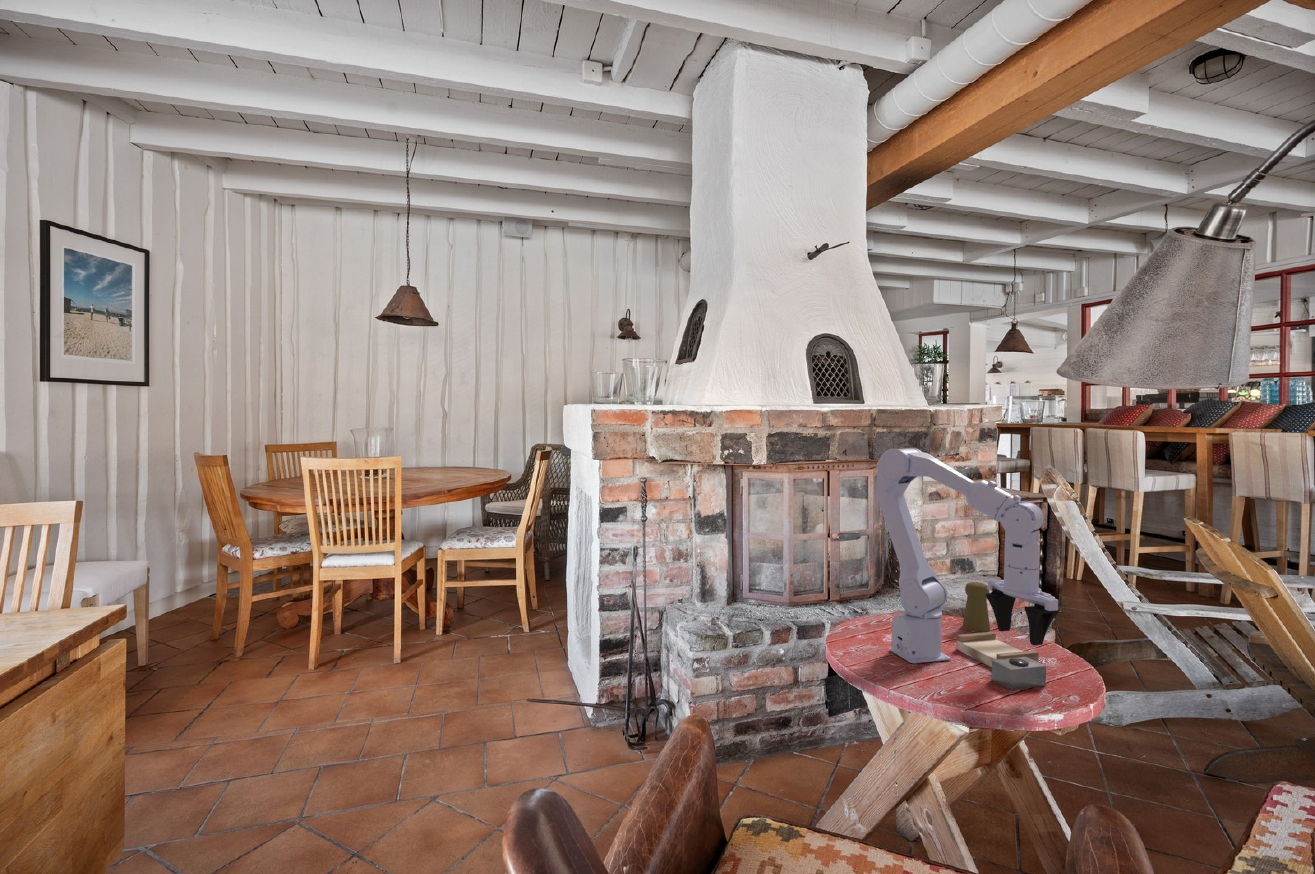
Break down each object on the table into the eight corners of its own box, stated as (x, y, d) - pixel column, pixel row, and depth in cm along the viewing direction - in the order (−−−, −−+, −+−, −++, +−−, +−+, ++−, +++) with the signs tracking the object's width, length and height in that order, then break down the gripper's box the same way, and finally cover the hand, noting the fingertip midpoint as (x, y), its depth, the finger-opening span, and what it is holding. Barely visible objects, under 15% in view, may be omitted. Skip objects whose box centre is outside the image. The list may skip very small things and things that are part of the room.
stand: (1038, 668, 125) (1038, 652, 125) (1000, 672, 123) (1001, 656, 123) (991, 646, 137) (991, 631, 137) (956, 649, 135) (956, 634, 135)
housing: (1010, 690, 115) (1011, 667, 114) (991, 680, 119) (992, 658, 119) (1045, 686, 117) (1046, 664, 116) (1025, 676, 121) (1026, 654, 121)
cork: (995, 632, 146) (996, 586, 145) (969, 632, 146) (970, 586, 145) (982, 624, 152) (983, 579, 151) (957, 623, 152) (958, 579, 151)
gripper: (1072, 574, 111) (1070, 649, 111) (1008, 556, 125) (1007, 623, 126) (1040, 576, 109) (1038, 652, 110) (979, 558, 123) (977, 625, 124)
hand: (1019, 637), depth 118 cm, fingers open, 7 cm apart
